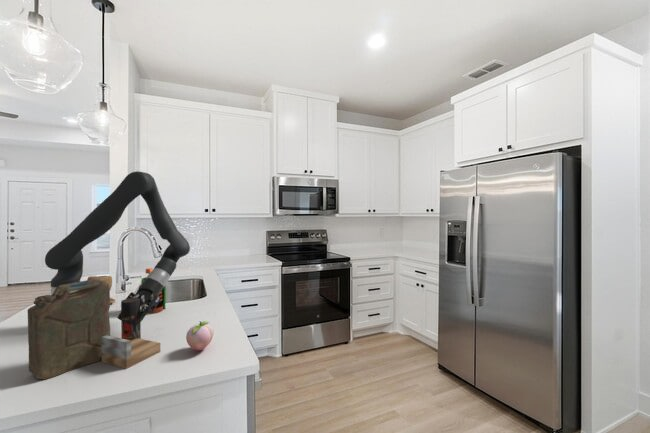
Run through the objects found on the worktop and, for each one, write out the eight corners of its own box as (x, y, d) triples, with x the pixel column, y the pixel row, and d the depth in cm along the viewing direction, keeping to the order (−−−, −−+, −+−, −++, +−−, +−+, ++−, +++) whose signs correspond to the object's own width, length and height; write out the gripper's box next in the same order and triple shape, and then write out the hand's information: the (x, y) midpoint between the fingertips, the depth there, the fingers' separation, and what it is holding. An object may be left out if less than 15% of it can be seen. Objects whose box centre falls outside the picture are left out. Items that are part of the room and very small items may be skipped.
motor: (152, 315, 140) (152, 271, 140) (135, 314, 142) (135, 270, 142) (168, 308, 150) (168, 267, 150) (152, 307, 152) (152, 266, 152)
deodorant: (144, 339, 115) (144, 299, 114) (128, 345, 109) (127, 303, 109) (133, 336, 117) (133, 297, 117) (117, 342, 112) (117, 301, 111)
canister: (101, 350, 106) (100, 277, 105) (113, 356, 101) (112, 280, 100) (26, 375, 90) (25, 289, 89) (36, 384, 85) (35, 293, 85)
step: (101, 362, 97) (101, 337, 97) (136, 346, 109) (136, 323, 108) (126, 368, 94) (126, 342, 93) (160, 351, 105) (160, 328, 105)
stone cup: (111, 299, 164) (111, 271, 164) (117, 304, 156) (117, 275, 156) (75, 306, 153) (74, 276, 153) (79, 311, 145) (78, 280, 145)
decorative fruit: (193, 344, 111) (193, 316, 110) (216, 344, 110) (216, 316, 110) (180, 356, 101) (180, 326, 101) (205, 357, 101) (205, 326, 101)
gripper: (135, 275, 122) (106, 313, 112) (162, 278, 117) (135, 318, 107) (147, 286, 127) (121, 323, 117) (174, 289, 122) (149, 328, 112)
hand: (127, 320), depth 112 cm, fingers open, 8 cm apart
